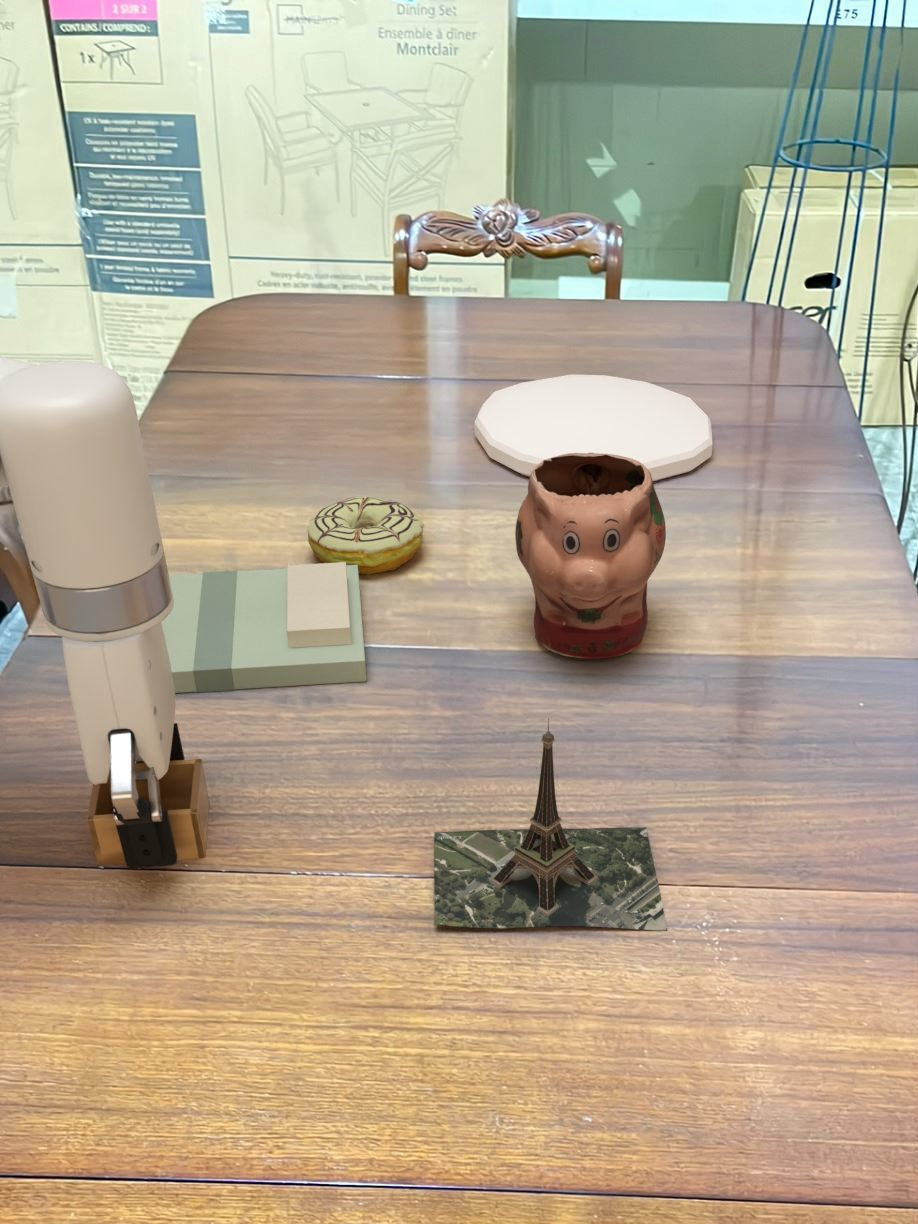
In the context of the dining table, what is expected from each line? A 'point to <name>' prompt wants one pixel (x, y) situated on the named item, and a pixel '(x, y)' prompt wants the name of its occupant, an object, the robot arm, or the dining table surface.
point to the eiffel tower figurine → (547, 872)
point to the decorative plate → (594, 423)
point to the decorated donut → (366, 534)
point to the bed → (266, 628)
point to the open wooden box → (177, 792)
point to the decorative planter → (590, 551)
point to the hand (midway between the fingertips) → (158, 817)
